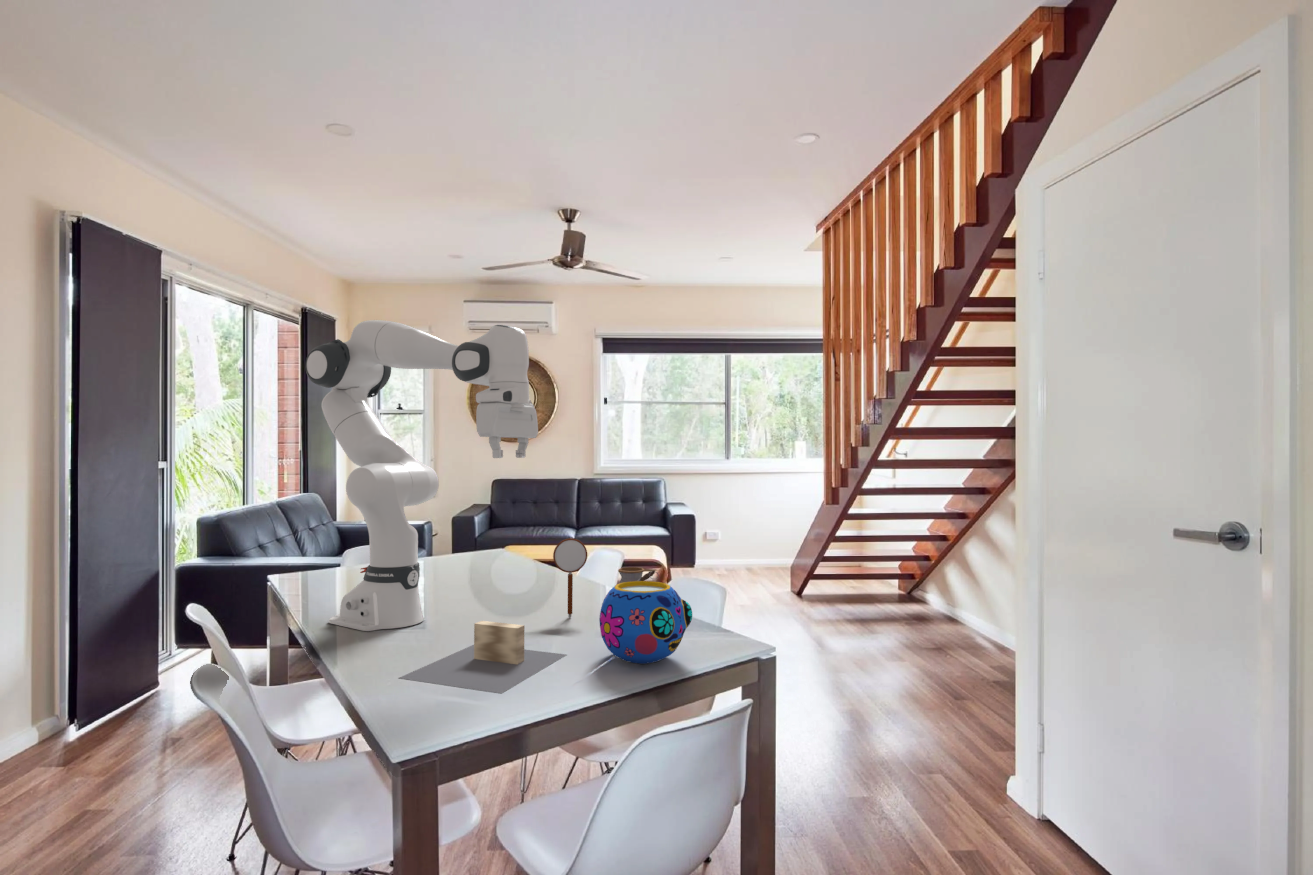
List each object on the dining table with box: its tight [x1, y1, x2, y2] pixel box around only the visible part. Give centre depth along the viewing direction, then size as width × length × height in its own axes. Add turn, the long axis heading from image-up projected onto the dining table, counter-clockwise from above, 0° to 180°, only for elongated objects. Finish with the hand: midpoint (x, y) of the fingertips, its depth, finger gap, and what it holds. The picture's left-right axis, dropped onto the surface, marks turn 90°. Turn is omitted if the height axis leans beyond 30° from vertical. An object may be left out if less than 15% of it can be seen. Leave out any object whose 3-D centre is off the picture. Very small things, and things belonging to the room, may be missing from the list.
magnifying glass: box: [552, 537, 588, 618], centre depth 174 cm, size 9×2×20 cm, turn 102°
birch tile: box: [473, 620, 525, 664], centre depth 137 cm, size 10×3×7 cm, turn 70°
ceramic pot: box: [598, 580, 693, 665], centre depth 139 cm, size 18×18×15 cm
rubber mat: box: [398, 644, 567, 694], centre depth 133 cm, size 22×24×1 cm
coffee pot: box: [617, 566, 660, 584], centre depth 166 cm, size 21×12×15 cm, turn 22°
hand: (509, 457), depth 155 cm, fingers open, 8 cm apart
